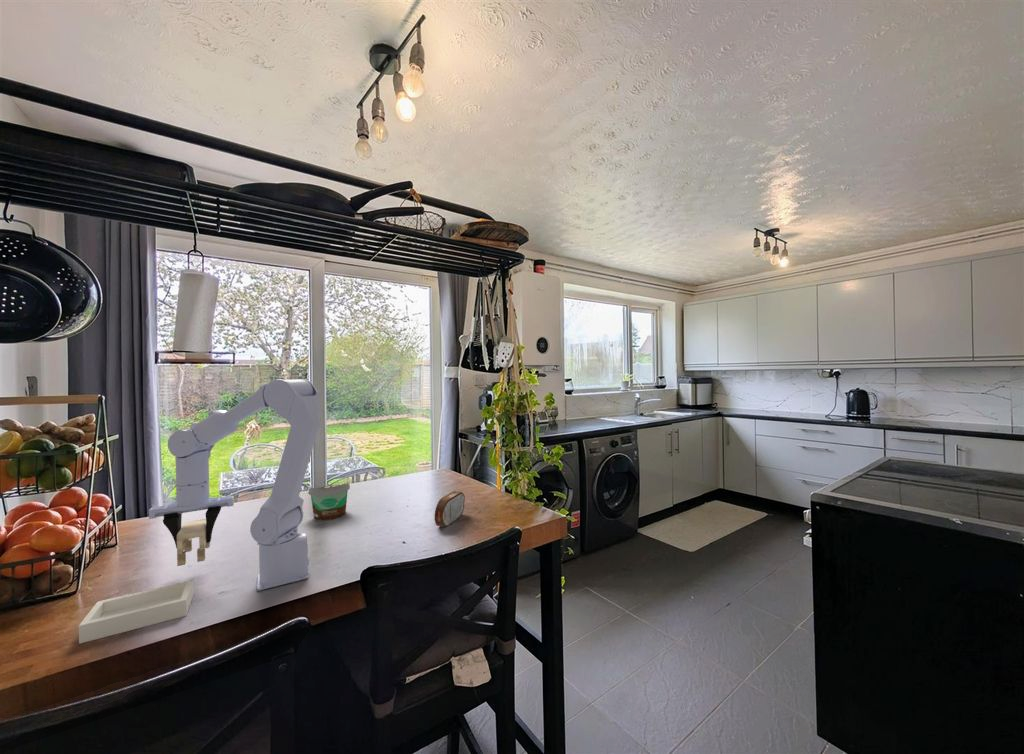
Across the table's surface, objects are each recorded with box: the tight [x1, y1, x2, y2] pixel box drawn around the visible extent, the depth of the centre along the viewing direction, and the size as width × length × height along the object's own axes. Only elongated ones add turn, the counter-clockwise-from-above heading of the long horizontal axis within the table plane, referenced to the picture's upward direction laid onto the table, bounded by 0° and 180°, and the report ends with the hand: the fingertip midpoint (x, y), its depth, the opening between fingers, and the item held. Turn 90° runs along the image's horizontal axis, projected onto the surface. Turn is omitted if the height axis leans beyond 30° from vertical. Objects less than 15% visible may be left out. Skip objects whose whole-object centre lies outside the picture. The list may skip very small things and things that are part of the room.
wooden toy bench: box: [176, 518, 211, 567], centre depth 87 cm, size 9×4×6 cm, turn 32°
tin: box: [434, 490, 466, 528], centre depth 118 cm, size 15×3×8 cm, turn 161°
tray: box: [78, 579, 195, 644], centre depth 73 cm, size 14×8×3 cm, turn 122°
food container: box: [307, 480, 351, 521], centre depth 124 cm, size 12×6×10 cm, turn 126°
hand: (194, 543), depth 87 cm, fingers closed on wooden toy bench, 4 cm apart
